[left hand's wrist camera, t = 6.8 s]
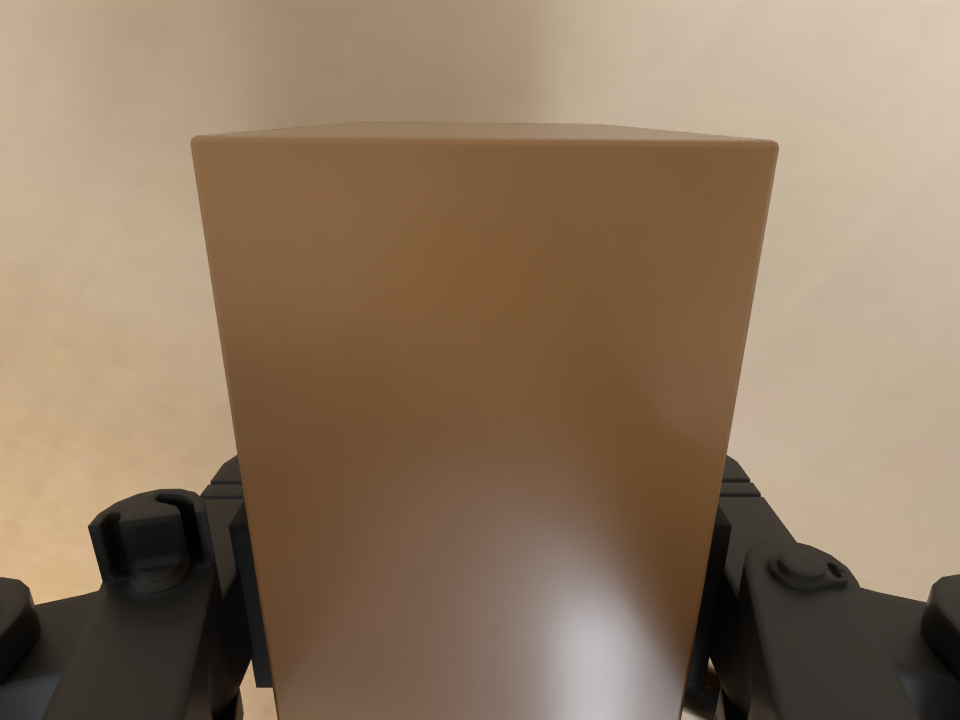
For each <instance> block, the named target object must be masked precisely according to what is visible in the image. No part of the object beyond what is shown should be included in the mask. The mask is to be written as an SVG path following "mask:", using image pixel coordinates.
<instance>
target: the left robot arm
mask: <svg viewBox="0 0 960 720" xmlns="http://www.w3.org/2000/svg"><path fill="white" fill-rule="evenodd" d="M88 529H89V532H90V536H91V540H92V544H93V547H94V551H95V555H96V558H97V562H98V566H99V569H100V573H101V577H102V581H103V583H102V585H101V587H100V589H99V591H96V592H92V593H88V594H85V595H80V596H76V597H71V598H66V599H61V600H57V601H52V602H47V603H43V604H38V605H34V602H33V599H32V596H31V593H30V589H29V587H27V586H26V585H25V584H24V583H23V582H21V581H20V580H17V579H10V578H4V577H0V720H243V715H244V713H243V705H242V699H241V693H240V688H239V687H240V685H241V682H242V680H243V677H244V675H245V673H246V670H247V668H248V665H249V663H250V661H251V659H252V665H253V671H254V676H255V682H256V688H273V685H272V678H271V672H270V665H269V658H268V652H267V645H266V639H265V632H264V625H263V619H262V612H261V606H260V599H259V592H258V586H257V579H256V572H255V566H254V559H253V553H252V546H251V539H250V533H249V526H248V520H247V513H246V506H245V500H244V493H243V487H242V480H241V473H240V467H239V460H238V455H236V456H235V457H233V458H232V459H230V460H229V461H227V462H226V463H224V464H223V465H222V467H221V468H220V469H219V471H218V472H217V473H216V475H215V476H214V478H213V479H212V480H211V485H208V486H207V487H206V488H205V490H204V491H203V493H202V494H201V495H200V496H199V495H198V494H197V493H195V492H191V491H187V490H183V489H159V490H154V491H149V492H145V493H140V494H137V495H134V496H131V497H129V498H126V499H124V500H121V501H119V502H116V503H115V504H113V505H112V506H110V507H109V508H107V509H105V510H104V511H102V512H101V513H99V514H98V515H97V516H96V518H95V519H94V520H93V521H92V522H91V523H90V524H89V526H88ZM709 657H710V659H711V661H712V664H713V666H714V668H715V671H716V673H717V675H718V678H719V680H720V683H721V688H720V693H719V699H718V704H717V709H716V715H715V720H960V574H959V575H953V576H946V577H942V578H940V579H939V580H938V581H937V582H936V583H934V584H933V585H932V588H931V591H930V594H929V597H928V600H927V603H926V602H921V601H917V600H912V599H907V598H903V597H898V596H893V595H888V594H884V593H879V592H875V591H871V590H868V589H864V588H860V586H859V584H858V581H857V580H856V579H855V577H854V576H853V574H852V573H851V572H850V570H849V569H848V568H847V567H846V566H845V565H843V564H842V563H841V562H839V561H838V560H837V559H835V558H834V557H833V556H831V555H830V554H827V553H825V552H823V551H821V550H819V549H816V548H814V547H812V546H809V545H805V544H801V543H797V542H796V541H795V539H794V538H793V537H792V535H791V534H790V533H789V531H788V530H787V528H786V527H785V526H784V524H783V523H782V522H781V520H780V519H779V518H778V516H777V515H776V514H775V512H774V511H773V510H772V508H771V507H770V505H769V504H768V503H767V501H766V500H765V499H764V497H761V493H760V492H759V491H758V489H757V488H756V487H755V485H754V484H753V483H750V478H749V477H748V476H747V474H746V473H745V472H744V470H743V469H742V468H741V466H740V465H739V464H738V462H737V461H735V460H734V459H732V458H731V457H729V456H728V455H726V459H725V465H724V471H723V477H722V483H721V488H720V494H719V500H718V506H717V512H716V518H715V523H714V529H713V535H712V541H711V547H710V553H709V558H708V564H707V570H706V576H705V582H704V588H703V593H702V599H701V605H700V611H699V617H698V623H697V628H696V634H695V640H694V646H693V652H692V657H691V663H690V669H689V675H688V681H687V687H686V688H704V685H705V679H706V673H707V667H708V662H709Z"/></svg>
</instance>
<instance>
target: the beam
mask: <svg viewBox="0 0 960 720" xmlns="http://www.w3.org/2000/svg"><path fill="white" fill-rule="evenodd" d="M191 149H192V156H193V162H194V169H195V176H196V182H197V189H198V195H199V202H200V209H201V215H202V222H203V229H204V235H205V242H206V248H207V255H208V262H209V268H210V275H211V281H212V288H213V295H214V301H215V308H216V315H217V321H218V328H219V334H220V341H221V348H222V354H223V361H224V367H225V374H226V381H227V387H228V394H229V401H230V407H231V414H232V420H233V427H234V434H235V440H236V447H237V453H238V460H239V467H240V473H241V480H242V487H243V493H244V500H245V506H246V513H247V520H248V526H249V533H250V539H251V546H252V553H253V559H254V566H255V572H256V579H257V586H258V592H259V599H260V606H261V612H262V619H263V625H264V632H265V639H266V645H267V652H268V658H269V665H270V672H271V678H272V685H273V692H274V698H275V705H276V711H277V718H278V720H681V716H682V710H683V704H684V698H685V692H686V687H687V681H688V675H689V669H690V663H691V657H692V652H693V646H694V640H695V634H696V628H697V623H698V617H699V611H700V605H701V599H702V593H703V588H704V582H705V576H706V570H707V564H708V558H709V553H710V547H711V541H712V535H713V529H714V523H715V518H716V512H717V506H718V500H719V494H720V488H721V483H722V477H723V471H724V465H725V459H726V454H727V448H728V442H729V436H730V430H731V424H732V419H733V413H734V407H735V401H736V395H737V389H738V384H739V378H740V372H741V366H742V360H743V354H744V349H745V343H746V337H747V331H748V325H749V319H750V314H751V308H752V302H753V296H754V290H755V285H756V279H757V273H758V267H759V261H760V255H761V250H762V244H763V238H764V232H765V226H766V220H767V215H768V209H769V203H770V197H771V191H772V185H773V180H774V174H775V168H776V162H777V156H778V151H779V147H778V143H777V142H775V141H773V140H763V139H752V138H741V137H731V136H720V135H709V134H698V133H688V132H677V131H666V130H655V129H645V128H634V127H623V126H613V125H602V124H533V123H413V122H361V123H349V124H337V125H324V126H312V127H299V128H287V129H274V130H262V131H249V132H237V133H224V134H212V135H199V136H196V137H193V138H192V139H191Z"/></svg>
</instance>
